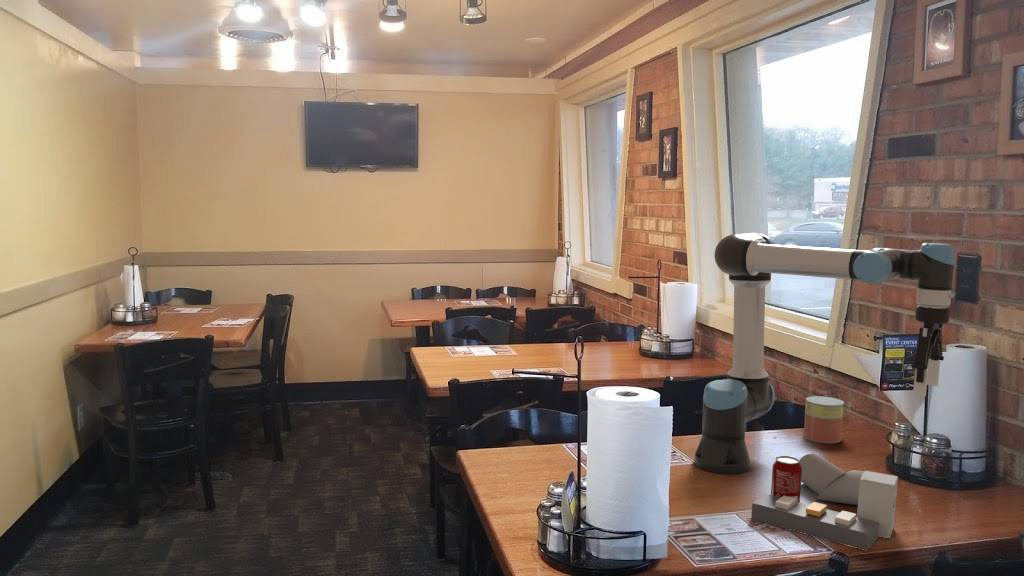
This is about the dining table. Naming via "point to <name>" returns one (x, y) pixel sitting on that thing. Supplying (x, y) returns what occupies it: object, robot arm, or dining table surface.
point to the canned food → (823, 419)
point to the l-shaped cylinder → (830, 480)
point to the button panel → (816, 521)
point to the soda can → (786, 477)
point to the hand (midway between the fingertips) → (925, 390)
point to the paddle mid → (816, 509)
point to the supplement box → (878, 500)
